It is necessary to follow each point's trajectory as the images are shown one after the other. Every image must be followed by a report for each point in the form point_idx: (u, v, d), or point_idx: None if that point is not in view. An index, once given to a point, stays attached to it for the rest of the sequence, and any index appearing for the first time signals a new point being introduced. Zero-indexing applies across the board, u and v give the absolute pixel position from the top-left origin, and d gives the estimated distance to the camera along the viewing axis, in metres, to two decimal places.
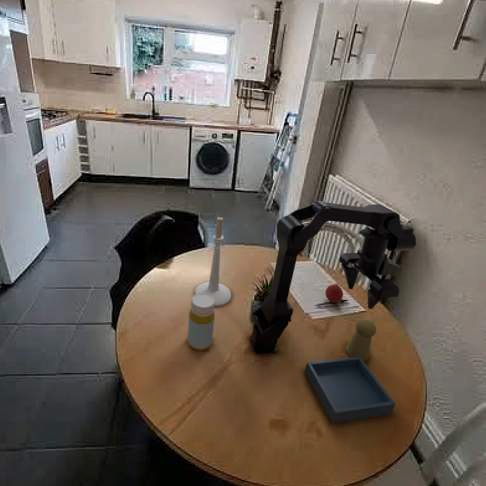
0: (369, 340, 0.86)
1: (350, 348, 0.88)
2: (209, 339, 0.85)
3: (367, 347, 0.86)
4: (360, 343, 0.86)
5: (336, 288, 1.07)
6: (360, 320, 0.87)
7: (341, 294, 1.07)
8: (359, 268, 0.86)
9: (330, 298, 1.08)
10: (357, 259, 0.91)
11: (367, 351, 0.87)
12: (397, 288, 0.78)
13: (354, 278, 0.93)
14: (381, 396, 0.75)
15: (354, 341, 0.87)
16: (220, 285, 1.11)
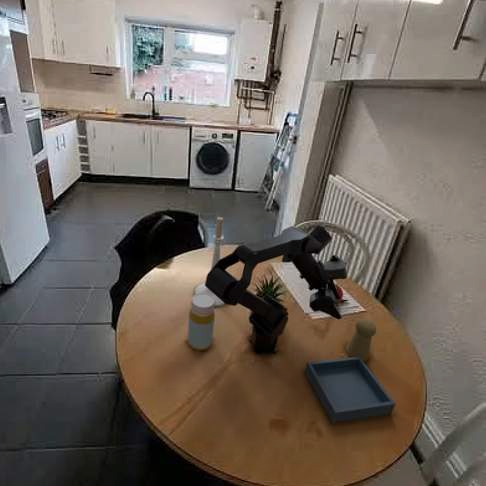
0: (369, 340, 0.86)
1: (350, 348, 0.88)
2: (209, 339, 0.85)
3: (367, 347, 0.86)
4: (360, 343, 0.86)
5: None
6: (360, 320, 0.87)
7: (341, 294, 1.07)
8: None
9: None
10: None
11: (367, 351, 0.87)
12: (325, 297, 0.77)
13: (333, 288, 0.91)
14: (381, 396, 0.75)
15: (354, 341, 0.87)
16: None
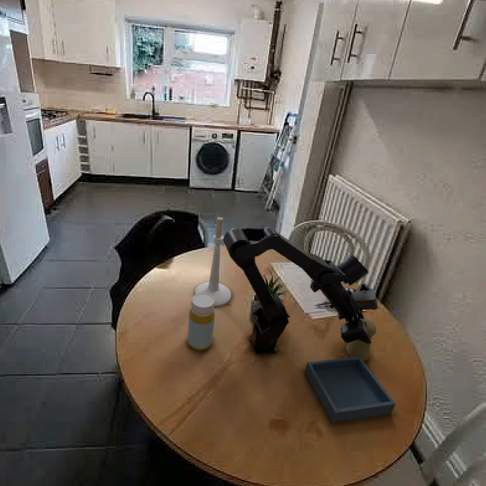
0: None
1: (350, 348, 0.88)
2: (209, 339, 0.85)
3: (367, 347, 0.86)
4: (360, 343, 0.86)
5: None
6: None
7: None
8: None
9: None
10: None
11: (367, 351, 0.87)
12: (358, 329, 0.77)
13: None
14: (381, 396, 0.75)
15: (354, 341, 0.87)
16: (220, 285, 1.11)
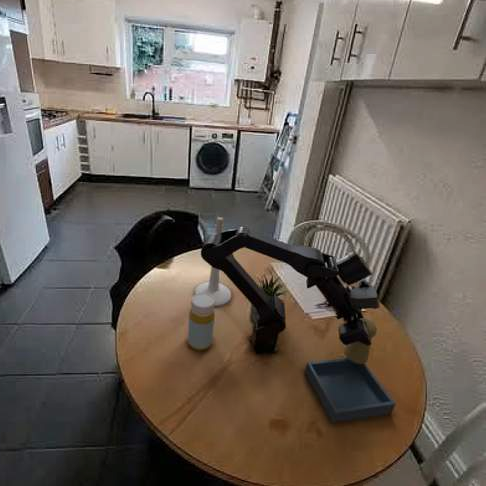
0: None
1: (348, 350, 0.82)
2: (209, 339, 0.85)
3: (367, 349, 0.79)
4: (360, 345, 0.79)
5: None
6: None
7: None
8: None
9: None
10: None
11: (366, 353, 0.80)
12: (358, 330, 0.70)
13: None
14: (381, 396, 0.75)
15: None
16: (220, 285, 1.11)
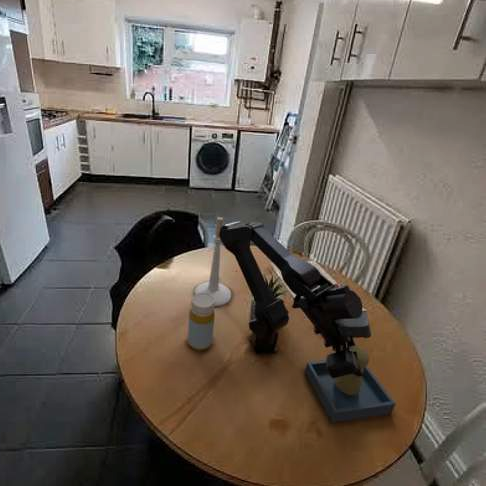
0: None
1: (338, 380, 0.76)
2: (209, 339, 0.85)
3: (358, 380, 0.73)
4: (350, 375, 0.73)
5: None
6: (350, 348, 0.74)
7: None
8: None
9: None
10: None
11: (358, 384, 0.74)
12: (346, 363, 0.64)
13: None
14: (381, 396, 0.75)
15: None
16: (220, 285, 1.11)
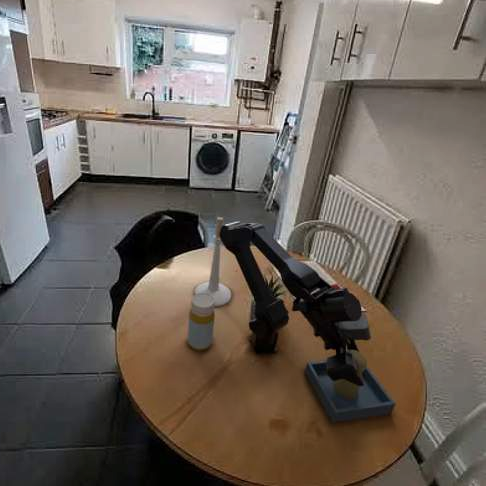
0: None
1: (337, 384, 0.76)
2: (209, 339, 0.85)
3: None
4: None
5: (336, 288, 1.07)
6: (348, 352, 0.74)
7: None
8: None
9: None
10: None
11: (356, 388, 0.74)
12: (346, 366, 0.64)
13: (352, 343, 0.78)
14: (381, 396, 0.75)
15: None
16: (220, 285, 1.11)
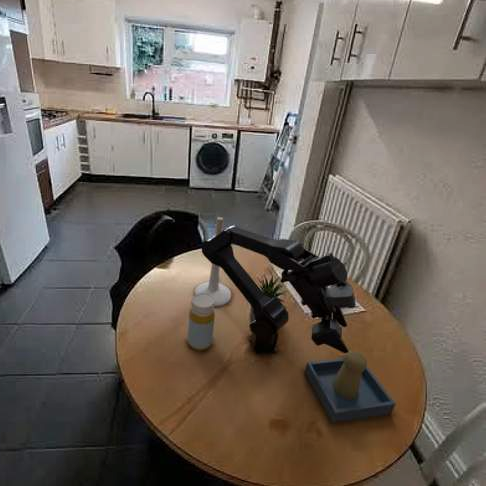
0: (359, 376, 0.73)
1: (337, 384, 0.76)
2: (209, 339, 0.85)
3: (356, 384, 0.74)
4: (349, 379, 0.74)
5: None
6: (348, 352, 0.74)
7: None
8: None
9: None
10: None
11: (356, 388, 0.74)
12: (329, 330, 0.67)
13: (339, 314, 0.80)
14: (381, 396, 0.75)
15: (342, 376, 0.75)
16: (220, 285, 1.11)
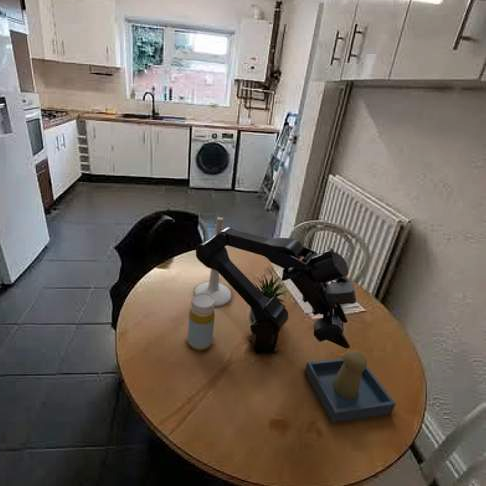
0: (359, 376, 0.73)
1: (337, 384, 0.76)
2: (209, 339, 0.85)
3: (356, 384, 0.74)
4: (349, 379, 0.74)
5: None
6: (348, 352, 0.74)
7: None
8: None
9: None
10: None
11: (356, 388, 0.74)
12: (332, 326, 0.68)
13: (340, 310, 0.81)
14: (381, 396, 0.75)
15: (342, 376, 0.75)
16: (220, 285, 1.11)
